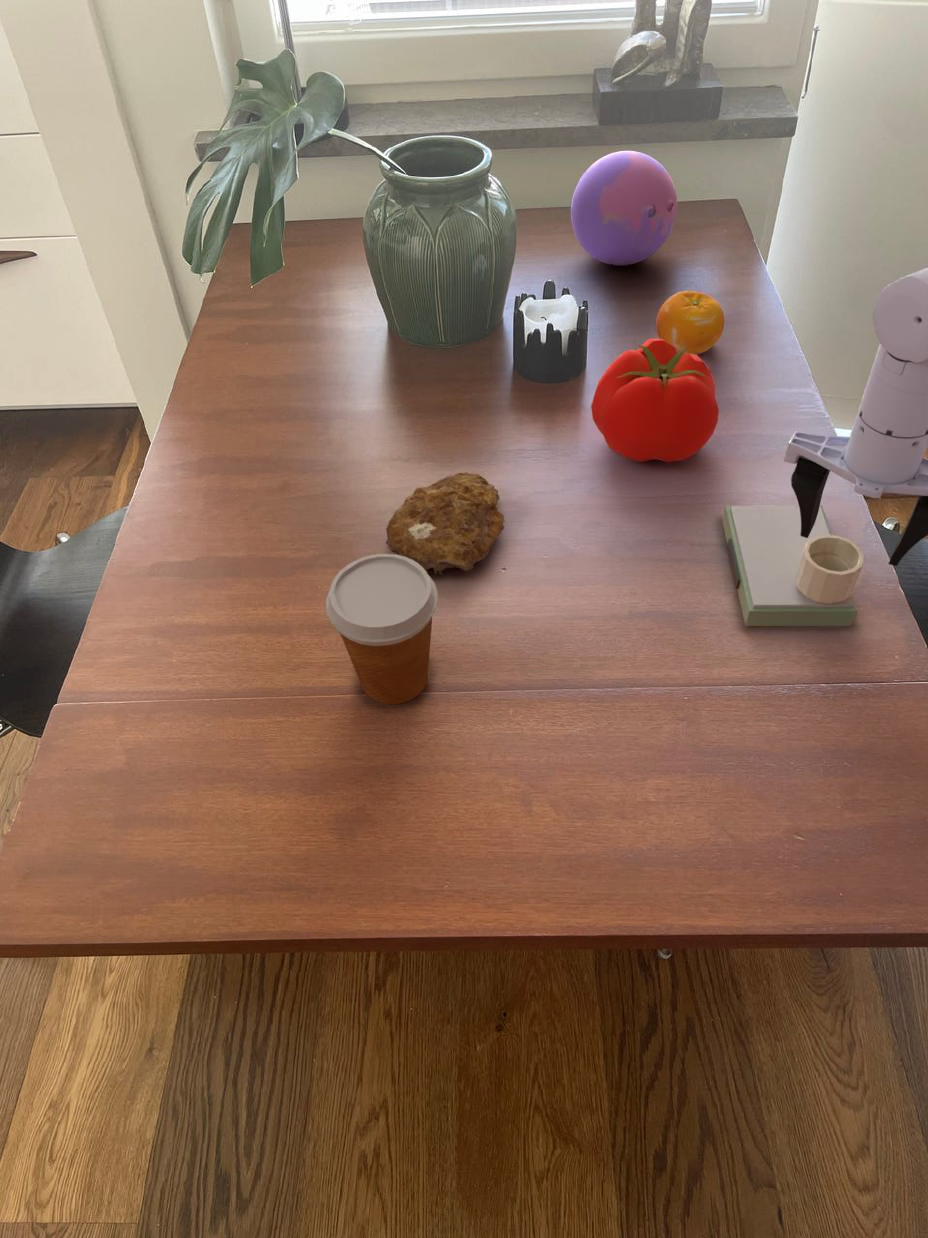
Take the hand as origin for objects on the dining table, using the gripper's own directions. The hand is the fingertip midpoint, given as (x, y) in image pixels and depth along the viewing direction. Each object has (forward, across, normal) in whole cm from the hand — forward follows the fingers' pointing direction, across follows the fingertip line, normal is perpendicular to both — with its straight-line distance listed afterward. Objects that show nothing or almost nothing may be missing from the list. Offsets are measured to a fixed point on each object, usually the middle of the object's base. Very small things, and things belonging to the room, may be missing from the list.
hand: (850, 544), depth 81 cm
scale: (+10, -5, +4) cm, 12 cm away
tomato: (+10, -25, +18) cm, 32 cm away
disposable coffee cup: (+10, -33, -26) cm, 43 cm away
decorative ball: (+10, -46, +57) cm, 74 cm away
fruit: (+10, -29, +39) cm, 50 cm away
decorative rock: (+10, -38, -6) cm, 40 cm away
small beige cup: (+7, -1, +1) cm, 7 cm away
